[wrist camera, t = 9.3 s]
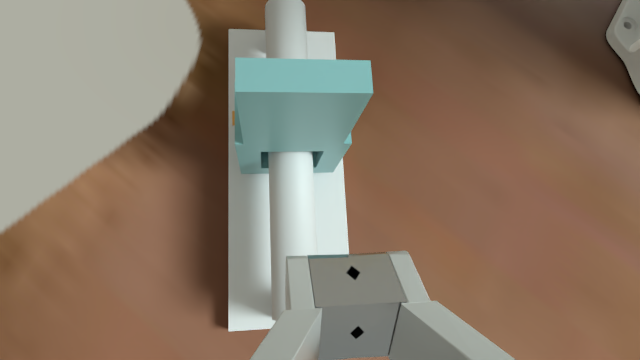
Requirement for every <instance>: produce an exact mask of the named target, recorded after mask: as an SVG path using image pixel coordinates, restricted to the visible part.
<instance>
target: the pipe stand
mask: <svg viewBox="0 0 640 360" xmlns="http://www.w3.org/2000/svg"><path fill="white" fill-rule="evenodd" d="M235 57H236V58H280V59H324V60H336V51H335V36H334V32H308V31H306V12H305V5H304V3H303V2H302V1H301V0H269V1H268V2H267V3H266V5H265V30H247V29H229V176H228V331H242V330H257V329H271V328H272V326H273V325H274V324H275V322H276V321H277V319H278V318H279V316H280V315H281V313H282V312H283V310H285V274H286V256H307V255H340V254H349V247H348V232H347V217H346V202H345V187H344V172H343V158H342V159H341V161H340V162H339V164H338V165H337V167H336V169H335V170H334V172H329V173H313V155H312V151H296V152H268V161H269V174H241V171H240V166H239V162H238V157H237V152H236V148H235Z"/></svg>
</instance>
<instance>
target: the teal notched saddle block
mask: <svg viewBox="0 0 640 360" xmlns="http://www.w3.org/2000/svg"><path fill="white" fill-rule="evenodd" d="M372 95H373V84H372V73H371V61H368V60H324V59H280V58H236V57H235V148H236V152H237V157H238V162H239V166H240V171H241V174H269V161H268V152H296V151H312V155H313V173H329V172H334V170H335V169H336V167H337V165H338V164H339V162H340V161H341V159H342V158H343V156H344V155H345V153H346V152H347V150H348V149H349V147H350V145H351V144H352V141H351V130H352V129H353V127H354V125H355V124H356V122H357V120H358V118H359V117H360V115H361V113H362V112H363V110H364V108H365V107H366V105H367V103H368V101H369V100H370V98H371V96H372Z"/></svg>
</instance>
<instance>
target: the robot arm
mask: <svg viewBox="0 0 640 360" xmlns="http://www.w3.org/2000/svg"><path fill="white" fill-rule="evenodd" d="M606 38H607V41H608V42H609V44H610V46H611V47H612V48H613V49H614V51H615V52H616V53H617V54H618V55H619V57H620V58H621V59H622V60H623V61H624V63H625V65H626V67H627V70H628V72H629V75H630V77H631V79H632V82H633V84H634V86H635V88H636V90H637V91H638V93H639V94H640V0H622V2H621V4H620V6H619V8H618V10H617V12H616V14H615V16H614V18H613V20H612V22H611V24H610V26H609V27H608V29H607V32H606ZM380 356H389V359H390V360H515V359H514V358H513V357H511V356H510V355H509V354H507V353H506V352H505V351H503V350H502V349H501V348H499V347H498V346H497V345H495V344H494V343H492V342H491V341H490V340H488V339H487V338H486V337H484V336H483V335H482V334H480V333H479V332H478V331H476V330H475V329H474V328H472V327H471V326H470V325H468V324H467V323H466V322H464V321H463V320H462V319H460V318H459V317H457V316H456V315H455V314H453V313H452V312H451V311H449V310H448V309H447V308H445V307H444V306H443V305H441V304H440V303H439V302H437V301H430V299H429V297H428V294H427V292H426V290H425V288H424V286H423V283H422V281H421V279H420V277H419V274H418V272H417V270H416V268H415V266H414V263H413V261H412V259H411V257H410V255H409V253H408V252H407V251H393V252H386V253H385V252H379V253H360V254H340V255H307V256H286V274H285V310H283V312H282V313H281V315H280V316H279V318H278V319H277V321H276V322H275V324H274V325H273V326H272V328H271V329H270V331H269V332H268V334H267V335H266V337H265V338H264V340H263V341H262V343H261V344H260V346H259V347H258V348H257V350H256V351H255V353H254V354H253V356H252V357H251V359H250V360H338V359H347V358H360V357H380Z"/></svg>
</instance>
